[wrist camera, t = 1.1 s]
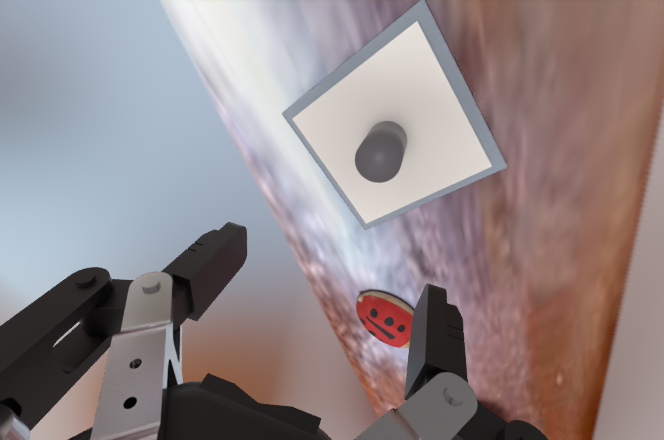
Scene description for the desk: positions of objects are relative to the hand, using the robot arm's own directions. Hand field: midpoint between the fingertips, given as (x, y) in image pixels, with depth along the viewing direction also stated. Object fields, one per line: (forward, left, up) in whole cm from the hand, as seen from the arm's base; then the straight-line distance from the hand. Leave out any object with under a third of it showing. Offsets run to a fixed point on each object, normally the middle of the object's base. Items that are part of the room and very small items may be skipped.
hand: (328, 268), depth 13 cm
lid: (0, 0, -19) cm, 19 cm away
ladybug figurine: (+20, -12, -20) cm, 31 cm away
